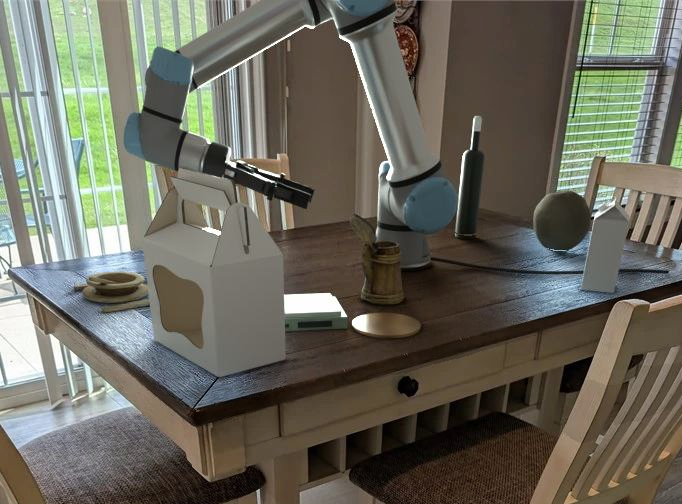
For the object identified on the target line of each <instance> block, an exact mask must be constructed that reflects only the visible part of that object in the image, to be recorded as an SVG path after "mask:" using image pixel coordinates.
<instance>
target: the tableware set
mask: <svg viewBox="0 0 682 504" xmlns="http://www.w3.org/2000/svg"><path fill="white" fill-rule="evenodd" d="M85 281H86V283H82V284H75V285H73V290H74V291H81V290H82V291H81V292H82V296H83V297H84V298H85V299H86V300H89V301H91V302H95V303H102V304H103V303H104V304H117V303H124V304H117V305H109V306H103V307H101V309H100V310H101V312H102V313H111V312H117V311H118V312H119V311H124V310H131V309H136V308H141V307H142V308H143V307H148V306H150V302H149V299H143V298H144V297H146V296H148V295H149V294H148V285H147V284H144V282H145V277H144V275H142V274H139V273H136V272H132V271H103V272H98V273H96V274H94V273H93V274H92V275H89V276H87V278H85ZM139 299H142V300H139ZM126 302H127V303H126Z"/></svg>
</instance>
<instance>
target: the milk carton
mask: <svg viewBox="0 0 682 504" xmlns="http://www.w3.org/2000/svg"><path fill="white" fill-rule="evenodd" d="M617 198H618V194H615V198H614V200H613V201H612V202H610V203H609V204H608V202H607V201H604V202H603V203H602V204H601V203H600V205H599V206H597V208H596V209H597V212H595V214H594V219H593V222H592V228H591V232H590V238H589V242H588V247H587V253H586V258H585V264H584V268H583V270H584V274H582V279H581V285H580V290H581V291H591V292H598V293H609V294H614V293H615V291H616V290H615V289H616V285H617V281H618V276H619V273H620V272H619V269H620V266H621V262H622V257H623V254H624V248H625V243H626V239H627V234H628V231H629V225H630V218H631V217H630V215H629V213H628V212H627V211H626V210H625V209H624V208H623V207H622V205H621V204H620V203H619V202H618V201H617Z"/></svg>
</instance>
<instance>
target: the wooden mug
mask: <svg viewBox="0 0 682 504" xmlns="http://www.w3.org/2000/svg"><path fill="white" fill-rule="evenodd" d="M349 222H350V227H351V229H352V231H353V232H354V234H355V235H356V236H357V238H359V240H361V241H362V242H363V244H364V246H363V248H362V254H361V268H362V272H363V274H364V282H363V287H362V288H361V295H360V299H361V300H362V301H363V302H365V303H368V304H370V305H379V306H390V305H391V306H392V305H398V304H400V303H402V302H403V301H404V300H405V298H404V295H405V294H404V290H403V283H402V271H401V267H400V261H401V251H400V245H399V243H397V242H393V241H387V240H385V241H376V240H377V238H376V230H375V229H374V227H373V225H372V224H371V223H369V221H367V220H366V219H365V218H363V217H362V216H360V215H358V214H357V213H353V214H352V215H351V216H350V218H349Z"/></svg>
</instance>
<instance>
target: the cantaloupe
mask: <svg viewBox="0 0 682 504" xmlns="http://www.w3.org/2000/svg"><path fill="white" fill-rule="evenodd" d="M532 224H533V230H534V234H535V237H536V239H537V241H538V242H539V243H540V245H541V246H542V247H543V248H545V249H546V248H549V249H547V251H549V252H553V253H563V252H568V251H570V250H569V249H571V250H572V249H574V248H576V247H577V246H579V244H581V243H582V242H583V241H584V239H585V238H586V236H587V235H588V232H589V230H590V227H591V211H590V208H589V205H588V203H587V200H586V199H585V197H583V195H581V194H579V193H578V192H576V191H573V190H559V191H553V192H550V193H548V194H546V195H545V196H544V197H543V198H542V199H541V200H540V201H539V202H538V204H537V205H536V207H535V209H534V211H533V221H532ZM550 249H554V250H567V251H553V250H550Z"/></svg>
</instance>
